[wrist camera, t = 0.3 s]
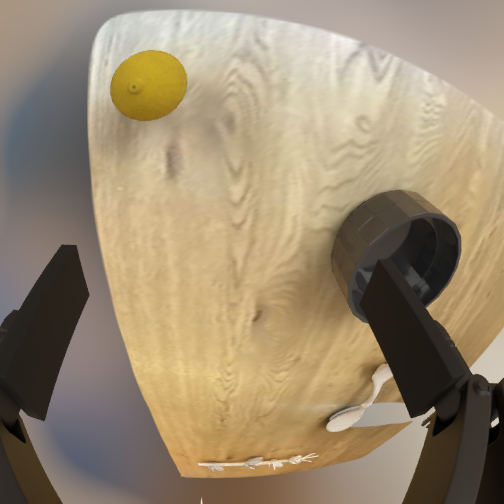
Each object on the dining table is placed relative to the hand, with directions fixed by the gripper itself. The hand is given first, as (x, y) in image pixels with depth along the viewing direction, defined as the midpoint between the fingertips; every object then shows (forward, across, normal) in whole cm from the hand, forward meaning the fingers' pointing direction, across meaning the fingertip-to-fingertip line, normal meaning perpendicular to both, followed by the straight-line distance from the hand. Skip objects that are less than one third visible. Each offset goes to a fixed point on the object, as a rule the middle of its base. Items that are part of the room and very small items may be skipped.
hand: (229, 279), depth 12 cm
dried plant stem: (+16, +16, -90) cm, 92 cm away
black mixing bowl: (+16, +20, -8) cm, 27 cm away
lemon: (+17, -6, +7) cm, 19 cm away
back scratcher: (+16, +32, -46) cm, 58 cm away
